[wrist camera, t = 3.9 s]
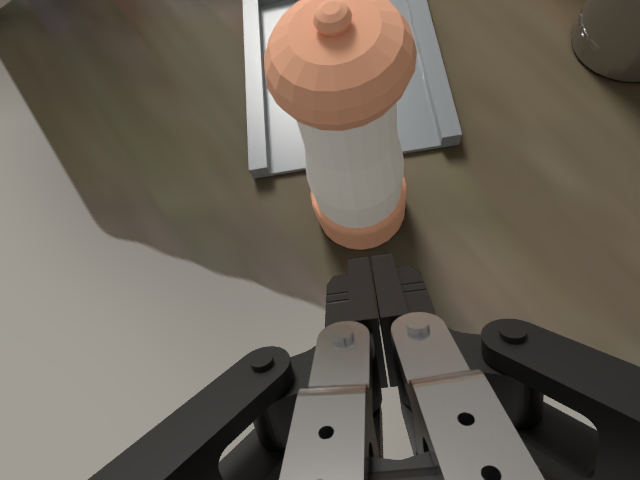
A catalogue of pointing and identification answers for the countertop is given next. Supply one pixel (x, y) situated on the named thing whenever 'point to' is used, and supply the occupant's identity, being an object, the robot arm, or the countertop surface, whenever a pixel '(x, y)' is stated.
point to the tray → (412, 108)
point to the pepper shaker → (346, 110)
